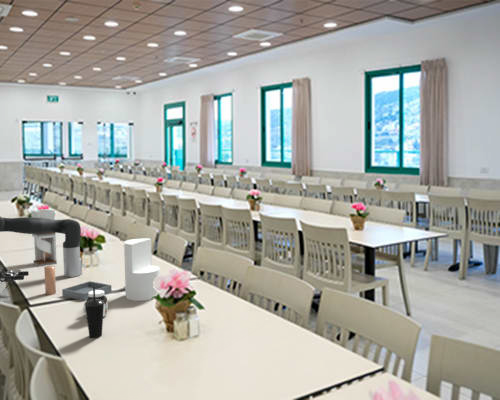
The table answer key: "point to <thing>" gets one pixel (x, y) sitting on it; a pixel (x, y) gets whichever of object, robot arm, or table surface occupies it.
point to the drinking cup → (94, 316)
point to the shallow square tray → (85, 290)
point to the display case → (44, 240)
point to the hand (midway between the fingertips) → (26, 275)
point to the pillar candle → (50, 280)
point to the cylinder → (139, 270)
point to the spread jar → (98, 295)
